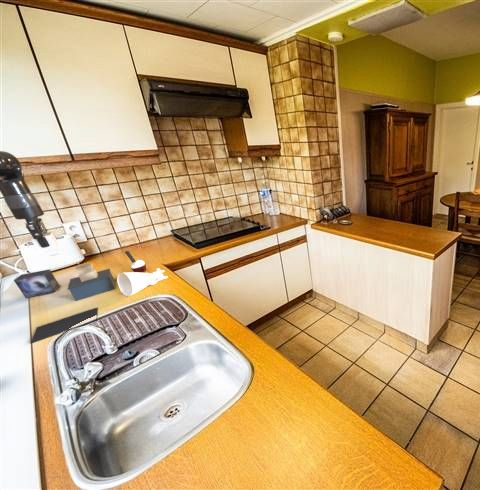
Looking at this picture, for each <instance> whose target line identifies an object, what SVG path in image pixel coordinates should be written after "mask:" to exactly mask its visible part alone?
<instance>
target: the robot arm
mask: <svg viewBox="0 0 480 490" xmlns="http://www.w3.org/2000/svg"><path fill="white" fill-rule="evenodd" d="M0 194H1V195H2V198H3V199H4V200H3V201H4V203H5V204H6V206H7V208H8V209H9V211H10V212H11V214H12V216H13V217H14V219H15V220H25V223H24V224H25V228H26V230H28V232H29V234H30V235H31V237H32V236H33V238H34V239H36V240H38V242H39V244H40V246H41V247H42V248H45V247H49V246H50V245H49V243H48V241H47V240H46V238H45V235H44V233H48V229H47V227H46V226H45V223H44V221H43V219H42V218H41V217H42V216H44V215H45V212H44V210H43V209H42V207H41V205H40V203H39V202H38V200H37V198H36V197H35V195H34V194H33V193H32V191H31V189H30V187H29V186H28V184H27V182H26V179H25V174H24V170H23V165H22V164H21V161H20V160H19V159H18V158H17V156H15V155H13V154H12V153H10V152H8V151H4V150H0ZM39 234H40V235H39Z"/></svg>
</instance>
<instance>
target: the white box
mask: <svg viewBox="0 0 480 490" xmlns="http://www.w3.org/2000/svg"><path fill="white" fill-rule="evenodd" d="M39 235H40V234H39ZM44 235H45V238H46V240H47V241H48V243H49V245H50V246H49V247H45V248H42V247H41V246H40V244H39V242H38V240H36V239H34V238H33V236H32V235H31V237H30V241H31V243H32V244H33V246H34V247H35V249H36V251H37V253H38V254H42V253H48V252H52V251H56V250H59V249H60V247H61V246H60V243H59V242H58V240H57V238H56V237H55V234H54V233H53V231H51V232H47V233H44Z"/></svg>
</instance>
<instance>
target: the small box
mask: <svg viewBox="0 0 480 490" xmlns="http://www.w3.org/2000/svg"><path fill="white" fill-rule="evenodd" d="M13 282H14V283H15V285H16V286H17V288H18V289H19V291H20V292H21V293H22V296H23V297H24V298H25V299H29V298H34V297H39V296H43V295H48V294H52V293H53V294H54V293H55V292H57V291H58V290H59V289H60V288H61V285H60V284H59V282H58V280H57V279H56V277H55V276H54V274H53V272H52V270H51V269H50V268H49V269H44V270H38V271H33V272H27V273H23V274H20V275H18V276H17V277H16V278H15V279H13Z"/></svg>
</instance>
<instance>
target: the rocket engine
mask: <svg viewBox="0 0 480 490" xmlns="http://www.w3.org/2000/svg"><path fill="white" fill-rule="evenodd" d="M164 273H165V270H164V269H162V270H161V269H160V268H156V270H155V271H152V272H151V273H150V272H141V273H140V272H134V271H132V272H131V271H129V272H128V271H125V272H119V273H118V275H117V277H116V278H117V279H116V280H117V286H118V288H119V290H120V292H121V293H122V294H123V296H125V297H131V296H133V295H135V294H137V293H139V292H140V291H142V290H144V289H145V288H147V287H148V286H153V285H156V284H157V283H158V282H160V281H163V280H166V279H168V278H169V276H168V275H164Z"/></svg>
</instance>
